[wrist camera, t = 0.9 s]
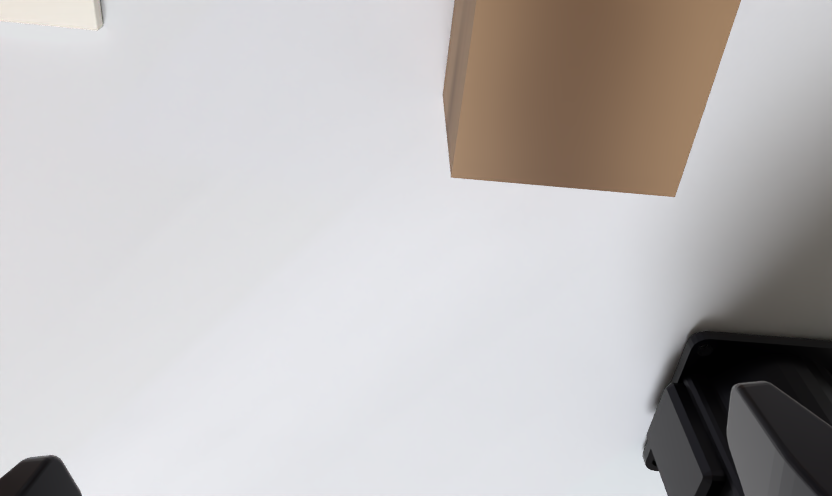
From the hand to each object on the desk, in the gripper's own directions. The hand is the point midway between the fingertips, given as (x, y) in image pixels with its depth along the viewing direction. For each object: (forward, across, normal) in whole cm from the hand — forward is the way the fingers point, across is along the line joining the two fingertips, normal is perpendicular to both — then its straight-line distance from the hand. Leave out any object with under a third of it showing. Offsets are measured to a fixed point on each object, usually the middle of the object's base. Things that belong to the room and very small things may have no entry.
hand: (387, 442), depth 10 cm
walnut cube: (+12, -4, -2) cm, 13 cm away
